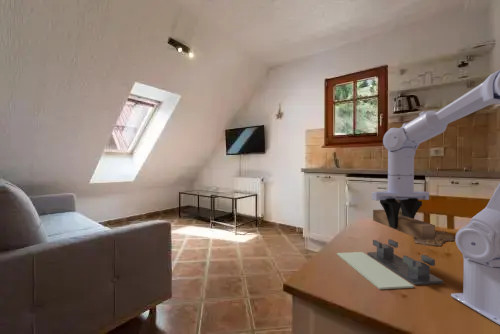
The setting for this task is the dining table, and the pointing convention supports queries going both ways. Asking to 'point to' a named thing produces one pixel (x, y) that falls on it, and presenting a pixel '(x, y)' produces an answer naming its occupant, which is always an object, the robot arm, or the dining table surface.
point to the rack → (405, 264)
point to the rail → (408, 225)
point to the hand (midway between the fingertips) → (400, 227)
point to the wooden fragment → (436, 239)
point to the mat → (374, 271)
